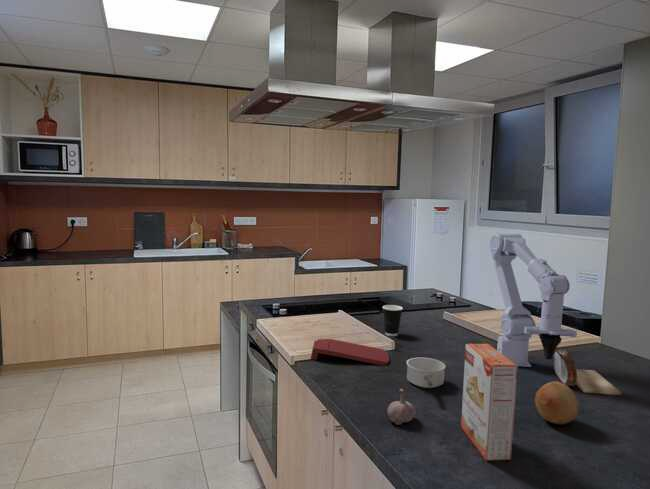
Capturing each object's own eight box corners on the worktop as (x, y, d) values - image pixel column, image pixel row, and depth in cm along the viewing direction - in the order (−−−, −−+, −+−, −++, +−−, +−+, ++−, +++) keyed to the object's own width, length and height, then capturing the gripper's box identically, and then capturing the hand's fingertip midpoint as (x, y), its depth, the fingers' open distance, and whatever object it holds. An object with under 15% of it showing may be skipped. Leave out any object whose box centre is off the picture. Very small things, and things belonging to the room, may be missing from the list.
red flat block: (384, 363, 162) (313, 349, 163) (387, 350, 162) (315, 335, 163) (386, 377, 150) (309, 361, 151) (390, 362, 150) (312, 347, 151)
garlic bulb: (395, 429, 108) (397, 396, 108) (379, 415, 115) (381, 384, 114) (422, 424, 111) (424, 392, 111) (405, 411, 118) (407, 380, 117)
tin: (576, 390, 134) (579, 362, 133) (565, 389, 135) (567, 361, 134) (561, 371, 149) (563, 346, 148) (550, 370, 149) (553, 345, 149)
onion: (576, 436, 108) (580, 394, 107) (530, 423, 113) (533, 384, 112) (579, 419, 116) (582, 381, 115) (536, 409, 121) (539, 372, 120)
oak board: (583, 392, 133) (583, 389, 133) (561, 370, 150) (561, 368, 150) (620, 395, 132) (621, 392, 132) (594, 372, 149) (594, 370, 149)
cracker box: (458, 428, 110) (464, 342, 108) (483, 427, 110) (489, 342, 108) (484, 462, 96) (490, 364, 94) (511, 461, 97) (519, 364, 94)
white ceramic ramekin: (407, 401, 124) (408, 381, 123) (404, 373, 143) (405, 356, 143) (451, 405, 122) (452, 385, 122) (442, 376, 142) (443, 358, 141)
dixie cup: (401, 332, 187) (403, 305, 186) (401, 338, 179) (402, 310, 178) (381, 330, 188) (383, 304, 187) (380, 336, 180) (381, 308, 179)
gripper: (530, 316, 137) (527, 361, 139) (582, 319, 135) (578, 364, 137) (523, 310, 144) (520, 353, 146) (572, 313, 142) (569, 356, 144)
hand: (548, 358), depth 142 cm, fingers closed
